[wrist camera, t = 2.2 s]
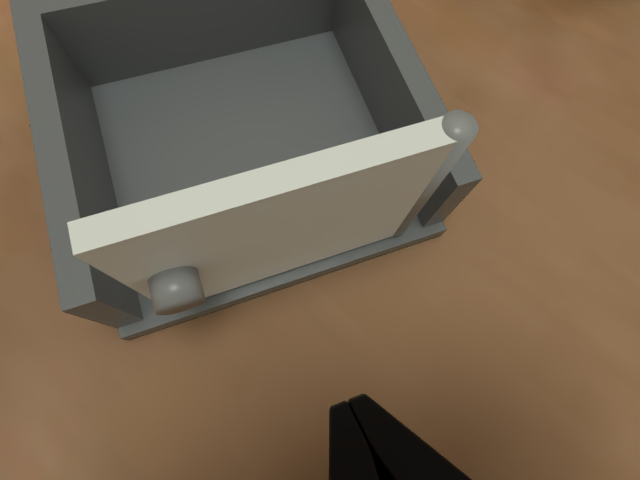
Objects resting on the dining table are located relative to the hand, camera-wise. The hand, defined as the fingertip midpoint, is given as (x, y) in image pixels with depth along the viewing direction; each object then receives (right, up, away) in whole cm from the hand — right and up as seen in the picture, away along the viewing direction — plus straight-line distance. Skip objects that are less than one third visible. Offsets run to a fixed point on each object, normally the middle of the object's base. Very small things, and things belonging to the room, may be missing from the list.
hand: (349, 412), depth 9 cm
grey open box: (-5, +10, +15) cm, 19 cm away
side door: (-2, +2, +11) cm, 12 cm away
